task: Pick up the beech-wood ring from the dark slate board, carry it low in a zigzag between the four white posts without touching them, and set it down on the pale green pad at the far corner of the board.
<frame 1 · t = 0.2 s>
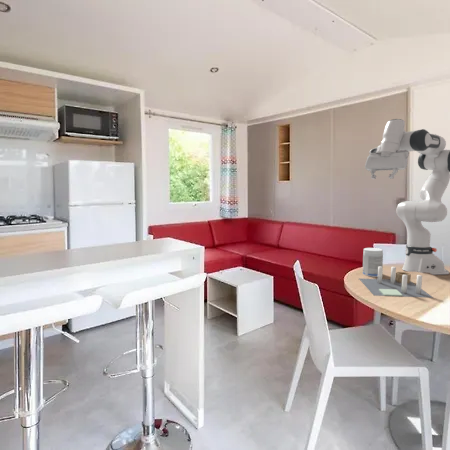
hand: (381, 178, 163), 51 cm above the table, tool tilted 20°, fingers open, 8 cm apart
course: (392, 289, 157), on the table
supplement tub: (372, 276, 179), on the table
ring: (402, 281, 165), point 1 cm above the table, touching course
pad: (390, 293, 148), resting on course
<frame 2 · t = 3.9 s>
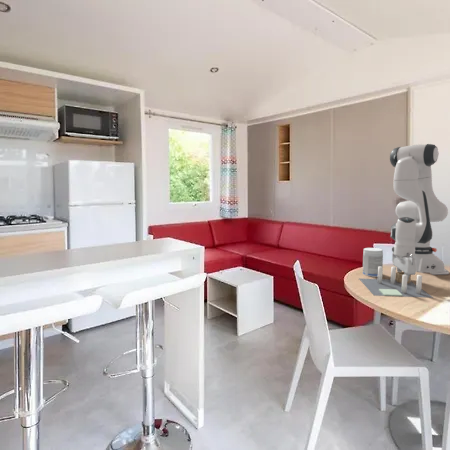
hand: (402, 278, 165), 3 cm above the table, tool pointing down, fingers closed on ring, 6 cm apart
ring: (402, 281, 165), point 1 cm above the table, touching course, gripper
everything else where it was.
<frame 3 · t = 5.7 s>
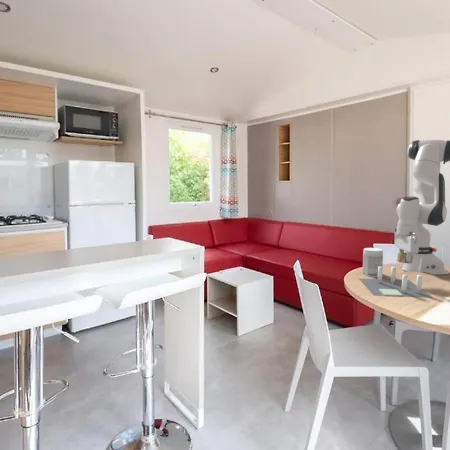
hand: (404, 259, 162), 13 cm above the table, tool pointing down, fingers closed on ring, 6 cm apart
ring: (404, 261, 162), point 11 cm above the table, touching gripper
everything else where it was.
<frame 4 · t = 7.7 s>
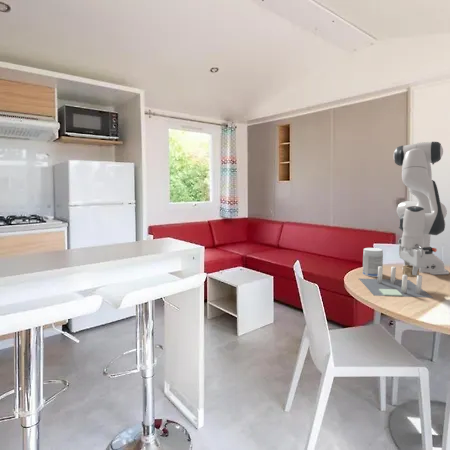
hand: (410, 272, 154), 9 cm above the table, tool pointing down, fingers closed on ring, 6 cm apart
ring: (410, 275, 154), point 7 cm above the table, touching gripper
everything else where it was.
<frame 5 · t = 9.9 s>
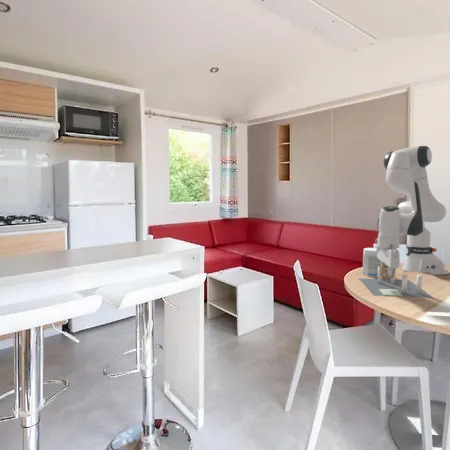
hand: (386, 273, 152), 9 cm above the table, tool pointing down, fingers closed on ring, 6 cm apart
ring: (386, 275, 152), point 8 cm above the table, touching gripper
everything else where it was.
when the fingers open (5 cm above the table, at t = 11.9 s): ring drops 1 cm, resting on pad.
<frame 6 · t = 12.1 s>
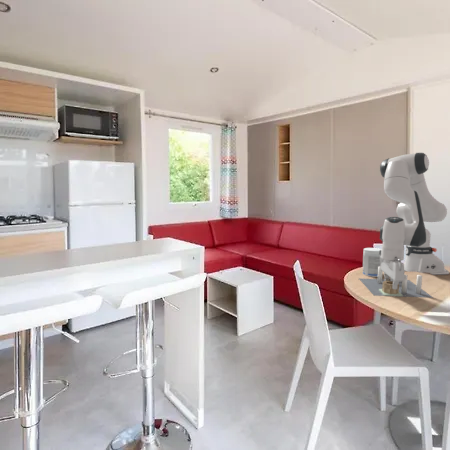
hand: (390, 285, 148), 5 cm above the table, tool pointing down, fingers open, 8 cm apart
ring: (390, 291, 148), point 2 cm above the table, touching pad
everything else where it was.
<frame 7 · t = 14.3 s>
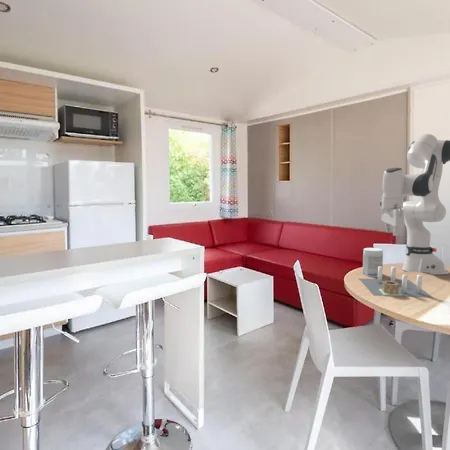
hand: (391, 233, 156), 26 cm above the table, tool pointing down, fingers open, 8 cm apart
nothing on the table moved.
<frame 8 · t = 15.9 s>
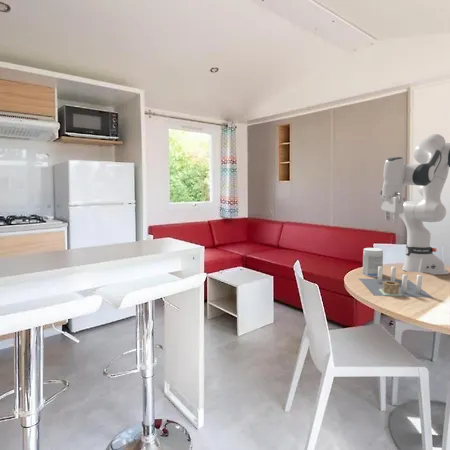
hand: (391, 221, 160), 31 cm above the table, tool pointing down, fingers open, 8 cm apart
nothing on the table moved.
at the end: ring 0.1 cm off-centre on the pad, point 0.6 cm above the pad's base; ring touching pad; the gripper is holding nothing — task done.
